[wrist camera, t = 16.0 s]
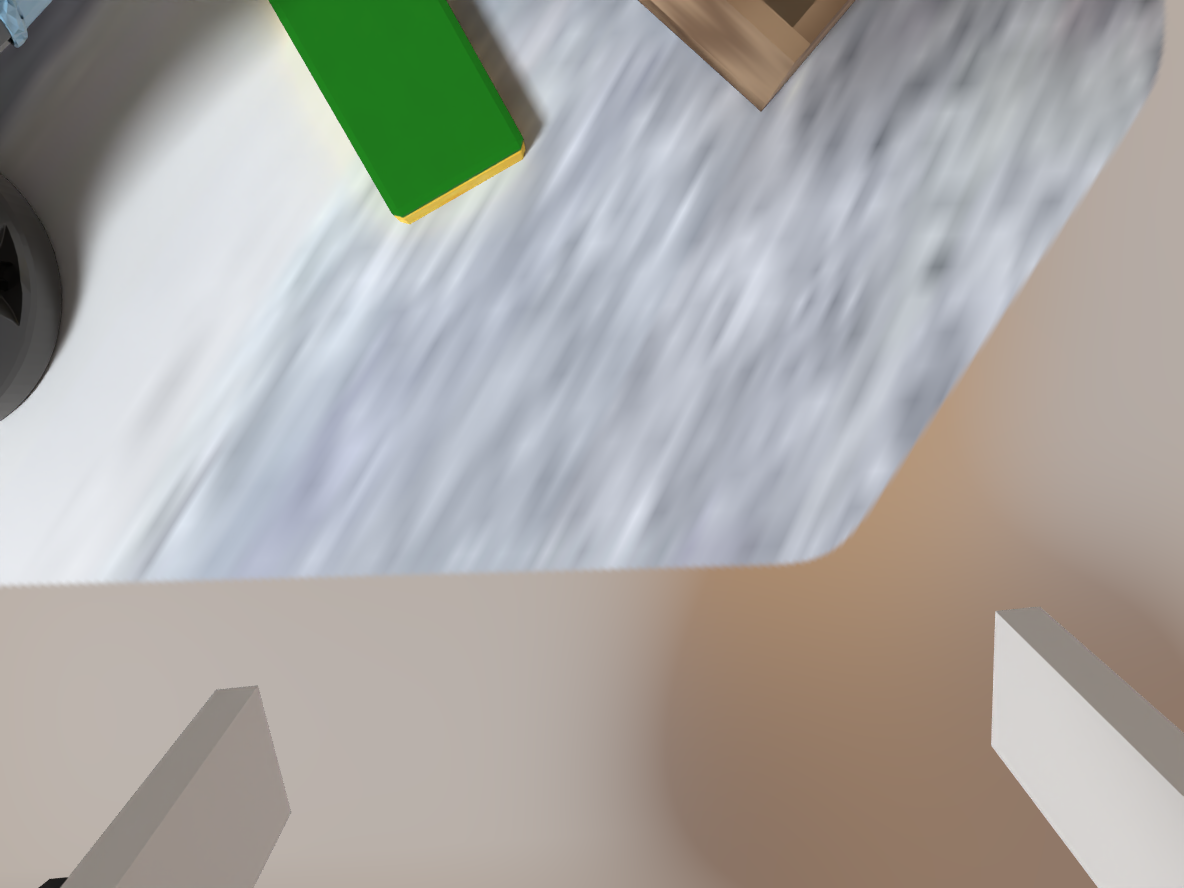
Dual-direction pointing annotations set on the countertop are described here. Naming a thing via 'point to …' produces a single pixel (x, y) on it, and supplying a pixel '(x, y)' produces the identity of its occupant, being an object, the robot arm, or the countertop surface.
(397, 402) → the countertop surface
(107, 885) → the robot arm
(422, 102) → the dish sponge
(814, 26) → the big walnut crate
